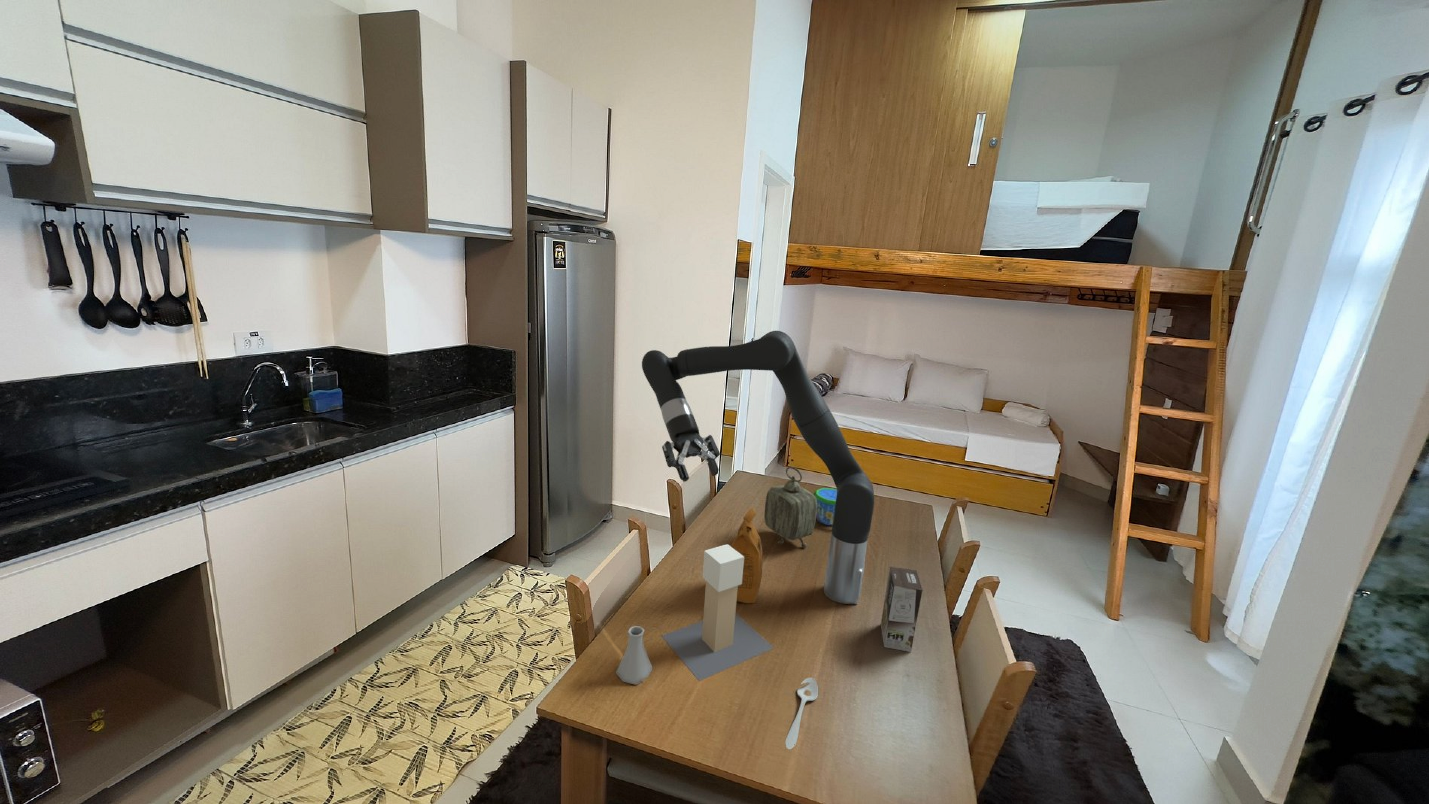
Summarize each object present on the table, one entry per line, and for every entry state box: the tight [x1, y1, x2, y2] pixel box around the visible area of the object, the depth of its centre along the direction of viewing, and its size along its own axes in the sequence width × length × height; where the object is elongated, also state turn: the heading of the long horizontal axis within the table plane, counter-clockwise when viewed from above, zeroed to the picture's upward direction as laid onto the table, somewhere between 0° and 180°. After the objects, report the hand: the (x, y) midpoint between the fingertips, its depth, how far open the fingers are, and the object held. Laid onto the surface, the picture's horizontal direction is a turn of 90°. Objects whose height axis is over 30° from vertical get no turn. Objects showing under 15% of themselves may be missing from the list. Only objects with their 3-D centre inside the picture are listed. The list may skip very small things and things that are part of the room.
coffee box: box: [880, 566, 924, 653], centre depth 130 cm, size 9×6×16 cm
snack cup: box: [812, 487, 837, 526], centre depth 189 cm, size 16×10×10 cm
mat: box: [661, 612, 774, 682], centre depth 125 cm, size 20×16×1 cm
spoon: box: [785, 677, 819, 750], centre depth 107 cm, size 4×21×2 cm, turn 158°
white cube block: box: [702, 544, 744, 592], centre depth 121 cm, size 6×6×7 cm
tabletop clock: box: [764, 466, 817, 549], centre depth 171 cm, size 14×9×25 cm, turn 34°
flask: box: [615, 625, 653, 685], centre depth 114 cm, size 7×7×10 cm
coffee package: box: [730, 508, 763, 604], centre depth 143 cm, size 10×12×22 cm
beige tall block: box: [702, 580, 738, 652], centre depth 123 cm, size 5×5×16 cm
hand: (701, 477), depth 135 cm, fingers open, 8 cm apart
